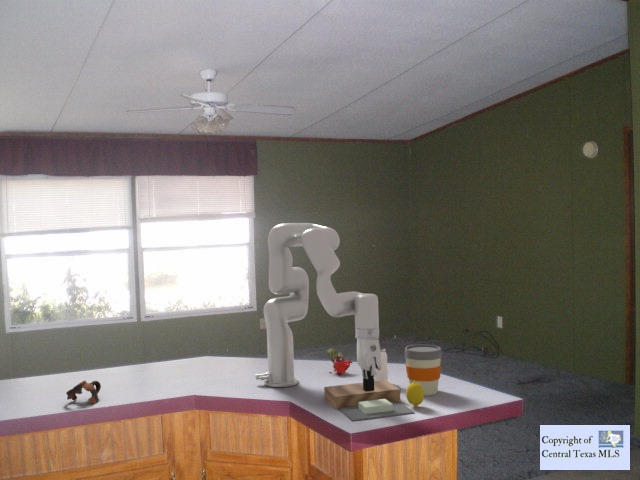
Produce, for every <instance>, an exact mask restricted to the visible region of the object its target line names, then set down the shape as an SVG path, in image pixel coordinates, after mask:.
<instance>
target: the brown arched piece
mask: <svg viewBox="0 0 640 480" xmlns="http://www.w3.org/2000/svg"><path fill="white" fill-rule="evenodd" d="M83 389H84V390H85V391H86V392H90V395H91V396H90V397H89V398H88V402H89V403H90V405H91V404H92V403H94V404H96V402H97V401H99V396H98V394H99V393H100V391H101V389H102V385H101V383H100V381H98V380H94V381H93V380H92V381H91V382H90V383H89V382H87V381H86V380H82V381H81V382H80V383H78V384H77V385H75V386H73V387H72V388H71V389H69V390H68V391H66V392H65V394H66V395H67V398H66V399H67V400H72V401H73V400H75V401H77V399H78V396H77V395H83ZM92 405H93V404H92Z"/></svg>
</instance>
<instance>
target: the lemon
mask: <svg viewBox="0 0 640 480" xmlns="http://www.w3.org/2000/svg"><path fill="white" fill-rule="evenodd" d="M405 396H406V400H407V402H408V403H409V404H410V405H412V406H413V407H414V408H417V407H418V406H419V405H421V404H422V403H423V402H424V399H425V396H424V390H423V387H422V386H421V385H420V384H419V383H417V382H413V383H411V384H410V383H409V384H408V386H407V388H406V394H405Z"/></svg>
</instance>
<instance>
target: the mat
mask: <svg viewBox="0 0 640 480" xmlns="http://www.w3.org/2000/svg"><path fill="white" fill-rule="evenodd" d="M390 403H392V404H393V411H386V412H378V413H370V414H365V413H364V412H362V411H361V410H360V409H359V408H358V406H353V407H345V408H339V409H338V410H339V411H340V412H341V413H342V414H343V415H345V417H347V418H348V419H349V420H350V421H351V422H357V421H358V422H359V421H366V420H367V421H368V420H375V419H379V418H380V419H381V418H389V417H390V418H391V417H397V416H403V415H410V414H411V415H412V414H415V413H416V412H415V411H414V410H413V409H410V408H409V407H408V406H406V405H405V404H404V403H402V402H401V401H400V402H399V401H394V402H390Z"/></svg>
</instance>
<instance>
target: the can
mask: <svg viewBox="0 0 640 480" xmlns="http://www.w3.org/2000/svg"><path fill="white" fill-rule="evenodd" d="M380 354H381V369H380V370H378V369H376V375H375V376H374V381H382V380H386V381H388V379H389V377H388V374H389V371H388V354H387V352H386V349H385V348H380ZM388 382H389V381H388Z"/></svg>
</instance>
